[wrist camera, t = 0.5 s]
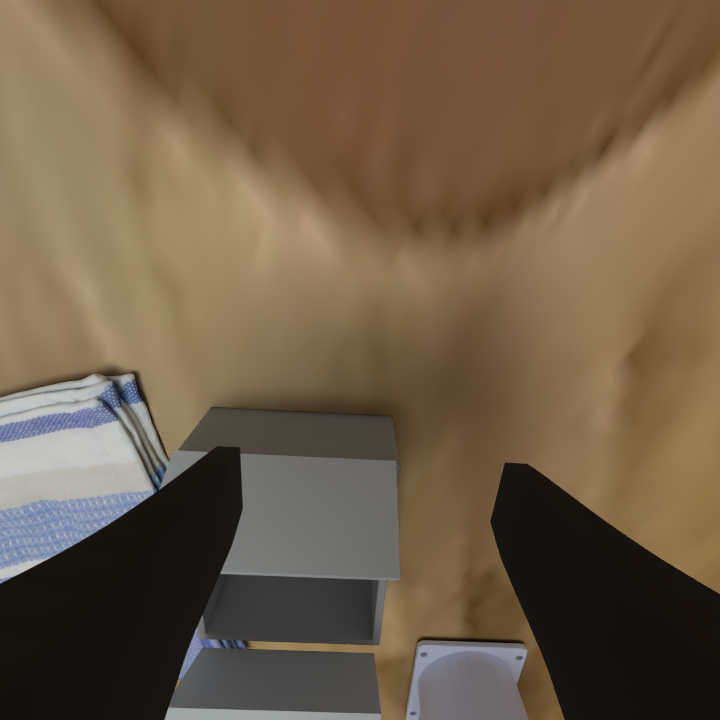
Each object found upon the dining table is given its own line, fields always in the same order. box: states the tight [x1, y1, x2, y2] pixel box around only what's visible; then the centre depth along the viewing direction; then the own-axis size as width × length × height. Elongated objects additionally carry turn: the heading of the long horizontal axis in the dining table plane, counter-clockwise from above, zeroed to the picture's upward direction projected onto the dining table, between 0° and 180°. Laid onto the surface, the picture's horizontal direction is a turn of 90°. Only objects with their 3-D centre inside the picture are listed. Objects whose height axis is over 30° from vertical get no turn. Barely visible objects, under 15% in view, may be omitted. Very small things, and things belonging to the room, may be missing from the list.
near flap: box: [159, 450, 400, 581], centre depth 15 cm, size 4×9×1 cm
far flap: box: [165, 648, 381, 720], centre depth 19 cm, size 4×9×1 cm
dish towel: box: [0, 373, 246, 679], centre depth 24 cm, size 17×24×3 cm
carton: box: [178, 407, 400, 645], centre depth 21 cm, size 12×10×4 cm
